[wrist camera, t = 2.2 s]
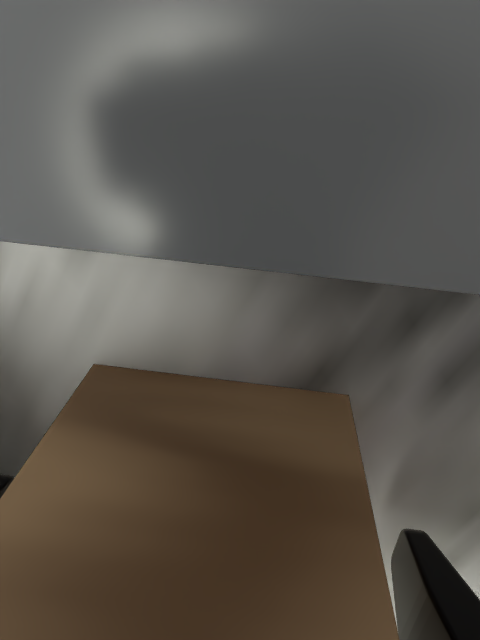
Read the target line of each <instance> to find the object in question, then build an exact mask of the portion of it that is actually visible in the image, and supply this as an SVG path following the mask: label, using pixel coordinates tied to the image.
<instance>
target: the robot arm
mask: <svg viewBox="0 0 480 640" xmlns="http://www.w3.org/2000/svg"><path fill="white" fill-rule="evenodd" d="M13 480H14V477H13V476H9V475H1V474H0V498H1V497H2V496H3V494H4V493H5V491H6V490H7V488H8V487H9V486H10V484H11V483H12V481H13ZM391 571H392V580H393V590H394V599H395V609H396V618H397V628H398V636H399V640H480V600H479V598H478V597H477V596H476V595H475V593H474V592H473V591H472V590H471V588H470V587H469V586H468V585H467V583H466V582H465V581H464V580H463V578H462V577H461V576H460V575H459V573H458V572H457V571H456V570H455V568H454V567H453V566H452V565H451V563H450V562H449V561H448V560H447V558H446V557H445V556H444V555H443V553H442V552H441V551H440V549H439V548H438V547H437V546H436V544H435V543H434V542H433V541H432V539H431V538H430V537H429V536H428V535H427V534H426V533H425V532H424V531H421V530H414V529H403V530H402V531H401V533H400V535H399V538H398V540H397V543H396V546H395V548H394V551H393V554H392V558H391Z"/></svg>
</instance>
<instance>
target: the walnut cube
mask: <svg viewBox="0 0 480 640" xmlns="http://www.w3.org/2000/svg"><path fill="white" fill-rule="evenodd" d="M0 640H399V636H398V631H397V626H396V621H395V616H394V612H393V607H392V602H391V597H390V592H389V588H388V583H387V578H386V573H385V568H384V563H383V559H382V554H381V549H380V544H379V539H378V535H377V530H376V525H375V520H374V515H373V510H372V506H371V501H370V496H369V491H368V486H367V481H366V477H365V472H364V467H363V462H362V457H361V453H360V448H359V443H358V438H357V433H356V428H355V424H354V419H353V414H352V409H351V404H350V400H349V395H344V394H335V393H327V392H319V391H311V390H303V389H294V388H286V387H278V386H270V385H261V384H253V383H245V382H237V381H229V380H220V379H212V378H204V377H196V376H188V375H179V374H171V373H163V372H155V371H147V370H138V369H130V368H122V367H114V366H106V365H97V364H93V366H92V367H91V369H90V370H89V372H88V373H87V374H86V376H85V377H84V379H83V380H82V382H81V383H80V385H79V386H78V387H77V389H76V390H75V392H74V393H73V395H72V396H71V398H70V399H69V400H68V402H67V403H66V405H65V406H64V408H63V409H62V411H61V412H60V413H59V415H58V416H57V418H56V419H55V421H54V422H53V423H52V425H51V426H50V428H49V429H48V431H47V432H46V434H45V435H44V436H43V438H42V439H41V441H40V442H39V444H38V445H37V447H36V448H35V449H34V451H33V452H32V454H31V455H30V457H29V458H28V460H27V461H26V462H25V464H24V465H23V467H22V468H21V470H20V471H19V473H18V474H17V475H16V477H15V478H14V480H13V481H12V483H11V484H10V486H9V487H8V488H7V490H6V491H5V493H4V494H3V496H2V497H1V498H0Z"/></svg>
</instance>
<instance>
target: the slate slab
mask: <svg viewBox="0 0 480 640" xmlns="http://www.w3.org/2000/svg"><path fill="white" fill-rule="evenodd" d="M0 241H4V242H13V243H22V244H31V245H40V246H49V247H57V248H66V249H75V250H84V251H93V252H102V253H111V254H120V255H129V256H138V257H147V258H156V259H165V260H173V261H182V262H191V263H200V264H209V265H218V266H227V267H236V268H245V269H254V270H263V271H272V272H281V273H289V274H298V275H307V276H316V277H325V278H334V279H343V280H352V281H361V282H370V283H379V284H388V285H397V286H405V287H414V288H423V289H432V290H441V291H450V292H459V293H468V294H477V295H480V0H0Z"/></svg>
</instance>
